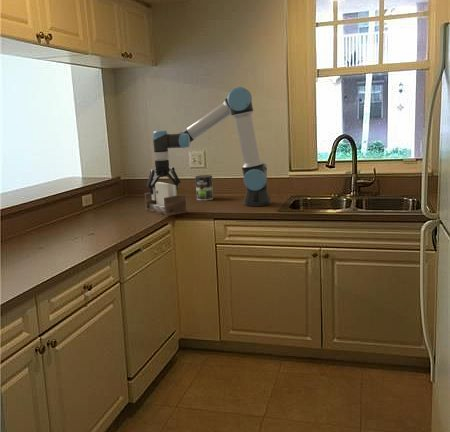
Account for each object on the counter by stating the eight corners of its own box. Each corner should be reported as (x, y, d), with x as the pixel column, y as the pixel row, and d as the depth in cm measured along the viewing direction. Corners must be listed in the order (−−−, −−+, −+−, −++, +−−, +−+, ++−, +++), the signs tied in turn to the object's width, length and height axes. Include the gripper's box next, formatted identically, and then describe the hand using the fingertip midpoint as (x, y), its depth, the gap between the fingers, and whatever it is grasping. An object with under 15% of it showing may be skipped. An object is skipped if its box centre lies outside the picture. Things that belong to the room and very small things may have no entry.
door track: (186, 212, 284) (185, 195, 282) (167, 216, 277) (165, 198, 275) (164, 206, 303) (162, 190, 301) (145, 210, 296) (144, 193, 294)
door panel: (174, 209, 285) (172, 184, 282) (168, 210, 283) (167, 184, 280) (161, 206, 296) (159, 181, 293) (156, 207, 294) (154, 182, 291)
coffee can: (210, 200, 315) (209, 177, 312) (194, 200, 318) (192, 177, 315) (215, 197, 325) (214, 174, 322) (199, 197, 328) (198, 175, 325)
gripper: (177, 157, 294) (180, 194, 298) (137, 161, 280) (141, 200, 284) (184, 157, 288) (187, 195, 293) (144, 162, 274) (147, 202, 278)
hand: (164, 198), depth 288 cm, fingers open, 13 cm apart
